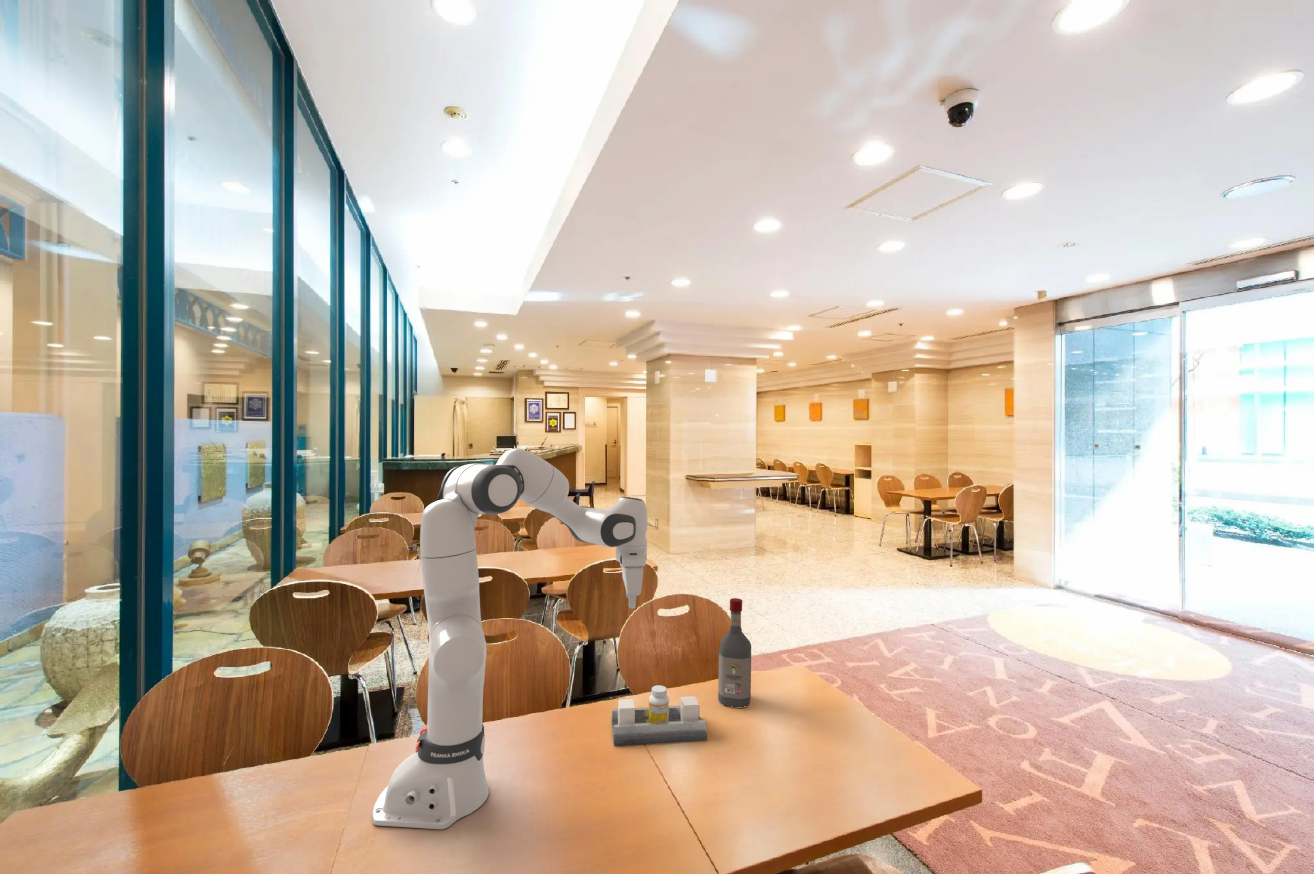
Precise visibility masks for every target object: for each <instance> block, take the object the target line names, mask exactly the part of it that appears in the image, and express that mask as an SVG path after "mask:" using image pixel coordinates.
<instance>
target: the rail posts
mask: <svg viewBox="0 0 1314 874" xmlns="http://www.w3.org/2000/svg"><path fill="white" fill-rule="evenodd" d="M617 702H618V703H617V709H618V725H619V724H635V708H636V706H635V700H634V698H630V699H628V698H625V699H618V701H617ZM680 705H681V713H680V719H681V721H694V720H699V716H700V704H699V701H698V700H697V697H696V696H695V695H693V696H692V695H691V696H690V695H689V696H687V695H686V696H680Z"/></svg>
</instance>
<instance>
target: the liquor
mask: <svg viewBox="0 0 1314 874" xmlns="http://www.w3.org/2000/svg"><path fill="white" fill-rule="evenodd" d="M729 611H730V622H729V624H730V627H729V631H728V632H727V633H726V634H725V635H724V636H723V637H722V639H721V641H720V645H719V648H718V682H717V683H718V685H717V686H718V687H717V688H718V689H717V690H718V693H717V698H718V699H717V700H718V702H719V704H721V705H722V704H723V707H727V706H733V707H732V708H734V707H744V706H748V707H749V705H750V703H751V691H752V690H751V689H752V685H751V684H752V683H751V682H752V643H751V640H749V639H748V637H747V636H746V635H745V633H744V632H743V631H742V611H743V599H741V598H737V597H731V598H730V599H729ZM744 708H745V707H744Z"/></svg>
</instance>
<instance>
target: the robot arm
mask: <svg viewBox="0 0 1314 874" xmlns="http://www.w3.org/2000/svg"><path fill="white" fill-rule="evenodd" d="M440 485H441V486H440V490H439V493H438V495H437V500H435V501H434V502H432V503H430V504H429V505H427V506H426V507H425V508H424V509H423V511H422V514H421V520H420V521H421V522H420V530H419V531H420V532H419V533H420V534H419V544H420V545H419V546H420V547H419V548H420V560H421V561H420V563H421V573H422V583H423V584H422V586H423V594H424V595H423V596H424V601H425V610H426V618H427V626H428V627H427V629H428V680H427V681H428V684H427V719H426V720H427V722H426V723H427V724H424V725H423V727H422V728H421V730H420V732H419V736H418V738H417V740H416V744H415V751H414V752H413V753H412V754H410V756H408V757H406V758H405V759H404V760H403V761H401V762H400V763H399V764H398V766H396V768H395V770H394V771H393V772H392V775H391V776H390V779H389V781H388V784H387V786H386V787H385V788H384V789H383V790H382V792H381V793H380V794H379V796H378V797H377V798H376V802H375V803H374V806H373V810H372V813H371V821H372V824H373V825H374V826H381V827H382V826H383V827H398V828H401V827H402V828H415V829H416V828H417V829H428V830H429V829H430V830H445V829H447V828H449V827H451V826H452V825H453V824H455V822H457V820H459V819H461V818H464V817H466V816H468V815H471V814H472V813H474V812H475V811H476V810H478V809H479V808H480V807H481V806H482V805H484V803H485V802H486V800H487V799H488V797H489V794H490V790H489V789H490V787H489V785H488V782H487V779H486V778H487V777H486V773H485V772H486V771H485V766H484V753H485V745H486V744H485V742H486V738H485V737H486V735H485V725H484V723H483V712H484V711H483V707H484V706H483V704H484V702H483V701H484V687H485V686H484V685H485V676H486V675H485V674H486V662H487V661H486V660H487V641H486V637H485V634H484V629H483V625H482V615H481V614H482V613H481V599H480V596H481V595H480V576H479V567H478V565H479V564H478V556H477V555H478V553H477V544H476V543H477V542H476V536H475V531H476V530H475V528H476V523H477V521H478V517H479V516H480V515H490V516H493V515H499V514H503V513H506V512H509V510H511V509H512V508H513V507H515V505H516V504H517V503H518V501H519V500H520V501H522V502H523V503H526V504H527V505H528V506H530V507H532V508H535V509H537V510H539V511H542V512H545V513H548V514H549V515H551V516H552V517H554V518H555V519H557V520H558V521H560V522H561V523H562V524H563V525H565V526H566V527H567V529H568V530H569V533H570V534H571V535H572V537H573V538H574V539H575V540H576V541H578V542H581V543H589V544H595V545H598V546H602V547H607V548H615V560H616V562H618V563H619V567H621V574H622V580H623V585H624V587H625V597H626V598H627V599H628V608H629V609H636V606H637V597H638V596H640V595H641V593H642V588H643V587H642V586H643V579H644V567H646V563H647V562H646V561H647V559H648V541H647V530H648V510H647V504H646V502H645V501H644V500H643V499H642V498H639V497H637V498H636V497H630V496H621V497H619V499H618V501H617V502H616V503H614V504H613V505H612V506H611V507H609V508H607V509H600V508H595V507H592V506H586V505H585V506H584V505H579V504H577V502H574V501H573V500H572V499H571V498H569V496H568V495H569V491H570V483H569V479H568V478H567V477H566V476H565V474H564V473H563V472H561V470H559V469H558V468H556V467H555V466H554V465H552V464H551V463H549V462H548V461H547V460H546V459H543V458H542V457H540V456H538V455H536V454H534V453H531V452H529V451H527V450H525V449H522V448H511V449H509V450H507V451H505V452H504V453H503V454H502V455H501V456H500V457H499V458H498V460H497V462H496V463H495V464H489V463H488V464H486V463H482V462H481V463H480V462H479V463H464V464H459V465H457V466H454V467H453V468H452V469H449V471H448V472H447V473H446V475H444V477H443V479H442V482H441V484H440Z"/></svg>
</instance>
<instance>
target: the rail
mask: <svg viewBox="0 0 1314 874" xmlns="http://www.w3.org/2000/svg"><path fill="white" fill-rule="evenodd" d="M680 713H681V704H680V705H669V722H657V723H649V706H645V707H643V706H641V707H635V724H619V725H618V708H612V709H611V729H612V741H613V746H614V747H617V746H618V747H619V746H620V747H621V746H636V745H653V744H656V745H657V744H671V743H673V744H674V743H686V742H703V741H706V742H707V741H708V734H707V721H706V720H705V719H701V716H700V715H699V720H694V721H681V719H680Z"/></svg>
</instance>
